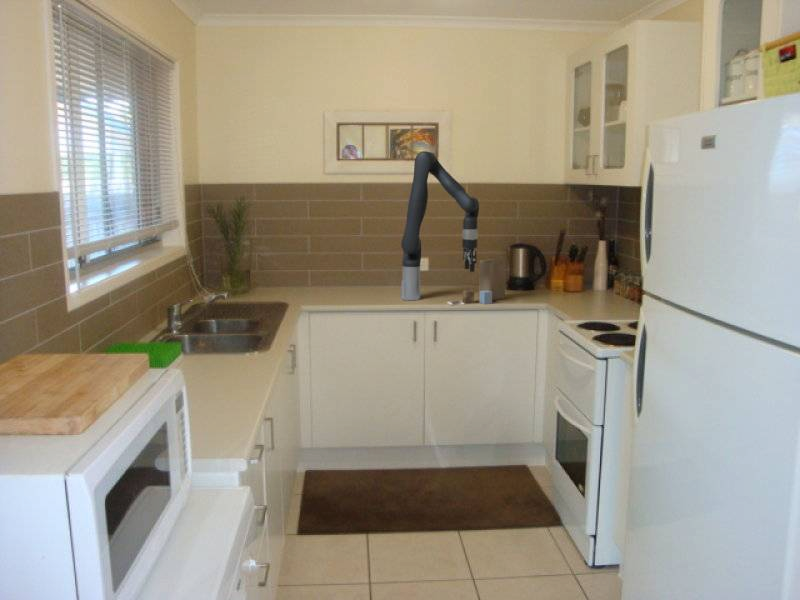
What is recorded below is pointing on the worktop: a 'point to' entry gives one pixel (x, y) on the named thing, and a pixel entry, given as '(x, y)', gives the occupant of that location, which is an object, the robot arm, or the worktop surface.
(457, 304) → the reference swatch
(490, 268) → the wooden block
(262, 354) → the worktop surface
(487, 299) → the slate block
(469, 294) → the walnut block
